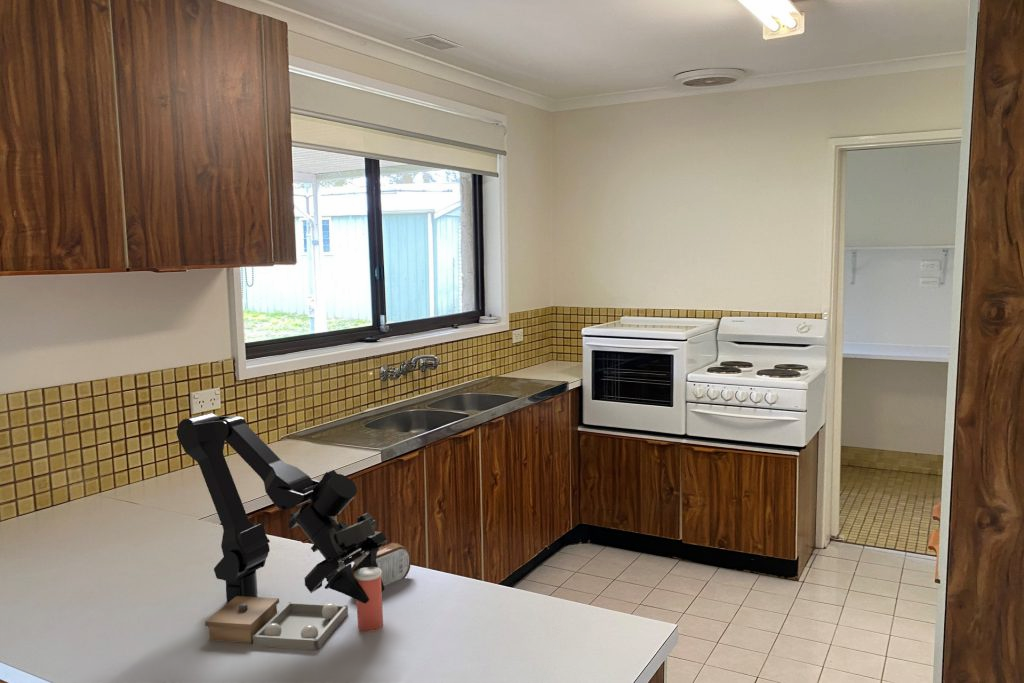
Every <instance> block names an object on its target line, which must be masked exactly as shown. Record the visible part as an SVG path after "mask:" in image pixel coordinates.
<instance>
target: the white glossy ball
mask: <svg viewBox="0 0 1024 683" xmlns="http://www.w3.org/2000/svg"><path fill="white" fill-rule="evenodd" d="M317 636H318V630H317V628H316V627H315V626H313V625H308V626H305V627H304V628H303V629H302V631H301V638H311V639H315V638H316V637H317Z"/></svg>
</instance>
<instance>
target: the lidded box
mask: <svg viewBox="0 0 1024 683" xmlns="http://www.w3.org/2000/svg"><path fill="white" fill-rule="evenodd" d="M279 603H280V598H279V597H264V596H263V597H262V596H257V597H246V596H236V597H235V598H233V599H232V600H231V601H230V602H228V603H227V602H226V604H225V605H223V606H222V607H221V608H220V609H219V610H218V611H216V612H215V613H214V614H212V616H210V617H209V618H207V619H206V620H205V621H204V624H205V627H208V633H209V641H218V642H234V643H247V644H248V643H249V644H252V643H253V636H254V635H255V634H256V633H257V632H258V631H259V630H260V629H261V628H262V627H263V626H264V625H265V624H266V623H267V622H269V621H270V620H271V619H272V618H273V617H274V616H275V615H276V614H277V613H278V608H277V607H278V604H279Z"/></svg>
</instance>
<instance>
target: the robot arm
mask: <svg viewBox="0 0 1024 683" xmlns="http://www.w3.org/2000/svg"><path fill="white" fill-rule="evenodd" d="M176 436H177V439H178V441H179V443H180V445H181V446H182V449H183V450H184V453H186V455H188V456H189V457H190V458H191V459H193V460H194V461H196V462H197V464H198V466H199V469H200V472H201V474H202V477H203V479H204V482H205V484H206V487H207V490H208V494H209V495H210V497H211V500H212V503H213V505H214V509H215V511H216V513H217V515H218V518H219V520H220V521H219V522H220V524H221V526H222V527H221V528H222V530H223V532H222V538H221V544H220V546H221V547H220V548H221V551H222V555H223V557H222V558H221V559H220V560H219V562H218V563H217V564H216V565H215V567H214V568H213V571H214V575H215V577H216V579H217V580H223V581H225V596H226V597H225V598H226V604H227V603H228V602H230V601H231V600H232V599H233V598H235V597H236V596H246V597H258V593H259V592H258V581H257V580H258V579H257V570H259V569H261V568H263V567H265V564H266V561H267V558H268V555H269V553H270V545H269V543H271V542H270V539H269V538H268V536H267V534H266V530H265V527H264V525H263V524H262V523H259V524H257V525H256V524H255V523H254V522H252V521H251V520H250V519H249V517H248V514H247V512H246V510H245V507H244V504H243V502H242V499H241V497H240V494H239V491H238V489H237V487H236V483H235V480H234V478H233V476H232V473H231V470H230V467H229V466H228V462H227V461H226V458H225V455H224V447H225V443H227V444H228V445H229V446H230V447H231V448H232V449H233V450H234V451H235V452H236V453H237V455H238V456H239V457H240V458H241V459H242V460H243V461H244V462H245V463H246V464H247V465H248V466H249V467H250V468H251V469H252V470H253V471H254V472H255V473H256V474H257V475H258V476H259V478H260V479H261V480H262V482H263V485H264V491H265V494H266V495H267V496H268V498H269V499H270V500H271V502H272V503H273V504H274V506H275V507H276V508H277V509H278V510H281V511H289V510H292V509H294V508H296V507H297V506H300V505H301V507H300V508H299V509H298V510H296V511H292V512H290V513H289V521H288V528H289V529H290V530H291V529H293V528H295V527H297V526H299V527H300V528H301V530H302V531H303V532H304V533H305V536H307V537H308V539H309V540H310V541H311V543H312V546H311V547H310V549H311V551H312V552H313V553H315V552H317V551H319V553H320V554H321V555H322V556H323V558H324V560H322V561H319V562H318V563H317V564H316V565H315V566H314V567H313V568H312V569H311V570H310V571H309V573H308V574H307V575H306V576H305V577H304V586H305V587H306V589H307V590H308V592H310V594H312V593H314V592H316V591H318V590H319V589H320V588H322V586H323V582H324V580H325V579H326V580H325V581H326V582H327V584H326V585H325V586H324V588H325V589H326V590H328V589H330V590H333V591H335V592H339V593H341V594H342V595H346V596H348V597H350V598H352V599H354V600H356V601H357V600H358V601H360V602H362V603H367V602H368V601H369V598H368V596H367V595H366V593H365V591H364V590H363V589H362V587H361V586H360V584H359V583H358V582H357V580H356V579H355V577H354V576H353V574H352V567H353V565H352V563H353V564H354V563H355V564H356V565H357V567H356V568H355V569H354V571H357V570H358V569H361V568H365V567H377V563H376V556H377V552H378V551H379V548H381V547H383V545H384V544H385V543H386V542H387V541H388V539H387V538H386V536H385V535H384V533H383V532H382V531H375V530H374V529H376V527H377V521H376V520H375V519H374V517H373V516H372V515H371V514H370V513H369V512H366V513H363V514H362V515H360V516H357V519H356V520H357V521H356V522H355V523H354V524H352V525H350V526H349V525H348V524H347V523H346V522H344V521H341V522H338V521H337V520H336V519H335V517H337V516H339V514H341V513H342V511H343V510H344V509H345V508H346V506H348V504H349V503H350V502H351V501H352V500H353V499H354V498H355V497H356V496H357V493H358V492H357V491H358V488H357V485H356V483H355V482H354V481H353V479H352V478H349V477H348V476H345V475H344V474H341V473H338V472H336V471H335V469H330V470H329V471H326V472H325V473H324V474H323V476H322V477H321V479H320V480H317V479H314V478H313V479H312V478H311V477H310V476H309V474H307V473H305V472H304V471H303V470H301V469H300V468H298V467H297V466H294V465H292V464H289V463H286V462H284V461H283V460H282V459H281V458H280V457H279V456H278V455H277V454H276V453H275V452H274V451H273V450H272V449H271V448H270V447H269V446H268V445H267V444H266V443H265V442H264V441H263V439H261V438H260V437H259V436H258V435H257V433H256V432H254V431H253V430H252V428H251V427H249V425H248V424H247V420H245V418H244V417H243V416H239V415H234V416H229V415H225V416H218V415H216V414H214V413H211V412H207V413H204V414H200V415H196V416H192V417H191V416H190V417H187V418H184V419H182V420H181V421H180V422H179V424H178V426H177V429H176ZM309 501H310V502H309ZM306 502H307V503H306ZM302 504H303V505H302ZM377 568H378V567H377ZM325 589H324V590H325ZM381 589H382V593H383V592H384V591H385V590H386V588H385V586H384V585H383V582H382V579H381Z"/></svg>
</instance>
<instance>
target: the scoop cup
mask: <svg viewBox="0 0 1024 683" xmlns="http://www.w3.org/2000/svg"><path fill="white" fill-rule="evenodd" d="M381 575H382V572H381V569H380V568H377V567H365V568H361V569H358V570H357V571H355V573H354V577H355V579H356V580H357V582H358V583H359V584H360V586H361V587H362V589H363V590H364V591H365V593H366V595H367V596H368V598H369V601H368V602H367V603H362V602H360V601H358V600H356V612H357V613H356V614H357V629H358V630H360V631H362V632H373V631H374V632H375V631H377V630H380V629H382V627H383V626H384V615H383V614H384V612H383V611H384V610H383V594H382V593H383V592H382V589H381Z"/></svg>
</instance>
